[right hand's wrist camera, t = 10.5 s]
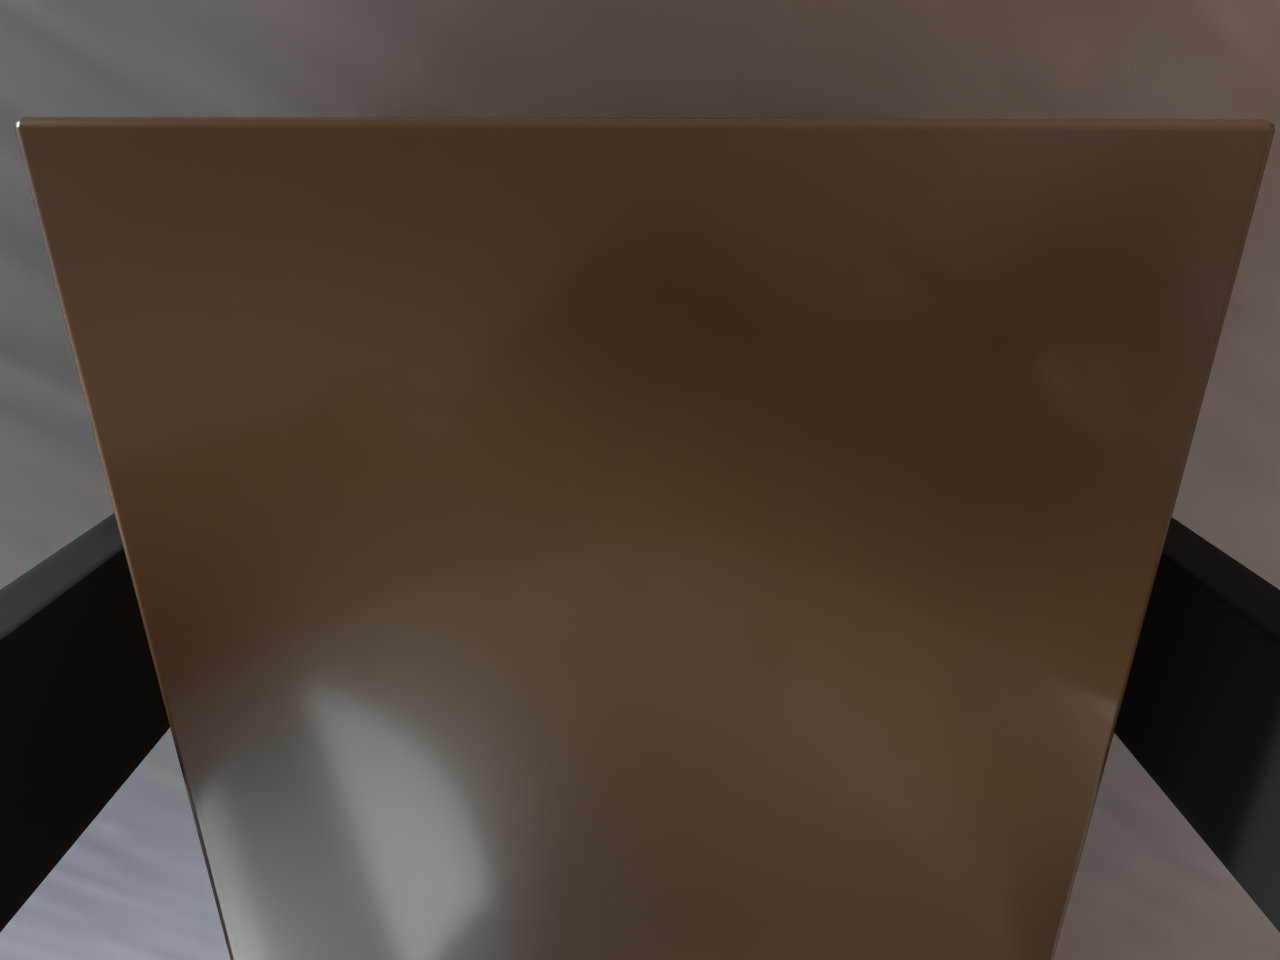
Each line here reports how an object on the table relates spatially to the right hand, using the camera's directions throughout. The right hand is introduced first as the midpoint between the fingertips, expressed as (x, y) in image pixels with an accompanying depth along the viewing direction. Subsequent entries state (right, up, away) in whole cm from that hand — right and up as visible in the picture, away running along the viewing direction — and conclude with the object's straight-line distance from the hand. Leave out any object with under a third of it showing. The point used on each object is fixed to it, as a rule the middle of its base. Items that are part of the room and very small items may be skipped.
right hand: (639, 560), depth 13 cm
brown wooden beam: (0, -21, +11) cm, 24 cm away
